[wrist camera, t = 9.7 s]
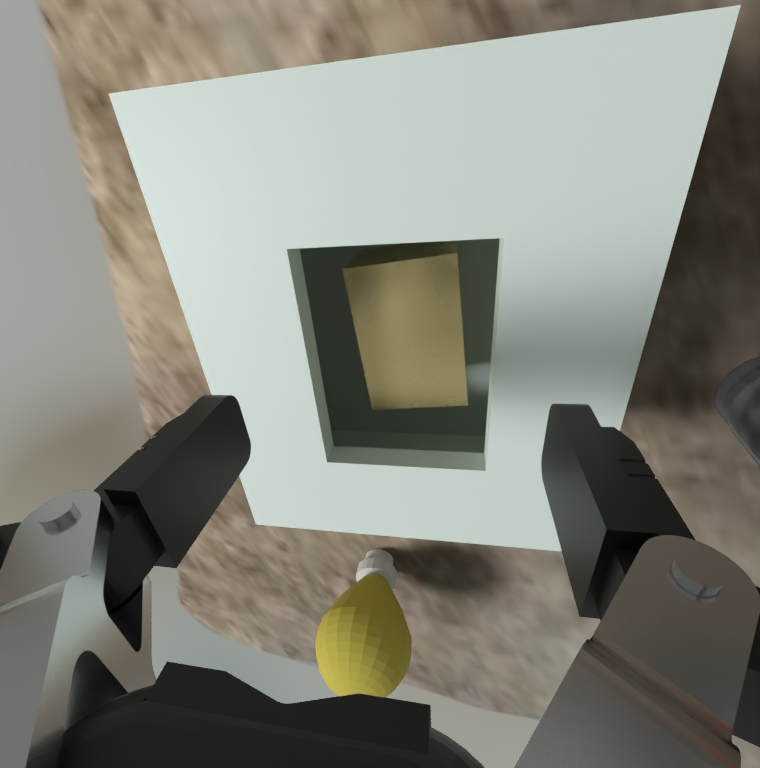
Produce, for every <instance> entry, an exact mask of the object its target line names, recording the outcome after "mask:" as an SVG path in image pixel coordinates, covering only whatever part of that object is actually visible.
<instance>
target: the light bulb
mask: <svg viewBox="0 0 760 768" xmlns="http://www.w3.org/2000/svg"><path fill="white" fill-rule="evenodd" d="M396 576H397V571H396V569H395V567H394V566H393V557H392V555H391V554H390V553H388V552H387V551H384V550H381V549H373V550H370V551H369V552H367V554H366V558H365V560H363V561H361V562H360V563H359V566H358V570H357V574H356V580H357V583H356V584H354V585H353V586H352V587H351V588H349V589H348V590H347V591H346V592H345V593H343V594H342V595H341V596H340V598H339V599H338V600H337V601H336V602H335V603H334V604H333V606H332V607H331V608H330V609H329V610H328V611H327V612H326V614H325V615H324V616H323V618H322V621H321V623H320V626H319V629H318V632H317V637H316V657H317V661H318V666H319V670H320V672H321V675H322V677H323V679H324V680H325V682H326V684H327V685H328V686H329V688H330V689H331V690H332V691H333V692H334V693H335V694H336V695H338V696H345V695H352V694H358V693H360V694H366V695H372V696H378V697H384V698H385V697H386V696H388V695H389V694H391V693H392V692H393V691H394V690H395V688H396V687H397V686H398V685H399V683H400V682H401V680H402V679H403V678H404V676H405V674H406V672H407V669H408V666H409V663H410V658H411V635H410V632H409V629H408V626H407V623H406V620H405V617H404V614H403V611H402V609H401V607H400V605H399V603H398V601H397V599H396V597H395V595H394V593H393V591H392V589H393V588H394V587H395V584H396Z"/></svg>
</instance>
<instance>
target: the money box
mask: <svg viewBox="0 0 760 768" xmlns="http://www.w3.org/2000/svg"><path fill="white" fill-rule="evenodd" d="M740 6H741V5H737V6H730V7H723V8H716V9H709V10H702V11H694V12H687V13H680V14H673V15H666V16H659V17H652V18H645V19H637V20H630V21H623V22H616V23H609V24H602V25H595V26H588V27H580V28H573V29H566V30H559V31H552V32H545V33H538V34H531V35H523V36H516V37H509V38H502V39H495V40H488V41H481V42H474V43H466V44H459V45H452V46H445V47H438V48H431V49H424V50H417V51H409V52H402V53H395V54H388V55H381V56H374V57H367V58H360V59H352V60H345V61H338V62H331V63H324V64H317V65H310V66H303V67H295V68H288V69H281V70H274V71H267V72H260V73H253V74H246V75H238V76H231V77H224V78H217V79H210V80H203V81H196V82H189V83H181V84H174V85H167V86H160V87H153V88H146V89H139V90H132V91H124V92H117V93H110V94H109V96H110V99H111V102H112V105H113V108H114V111H115V114H116V117H117V120H118V122H119V125H120V128H121V131H122V134H123V137H124V140H125V143H126V146H127V149H128V152H129V155H130V158H131V160H132V163H133V166H134V169H135V172H136V175H137V178H138V181H139V184H140V187H141V190H142V193H143V195H144V198H145V201H146V204H147V207H148V210H149V213H150V216H151V219H152V222H153V225H154V228H155V231H156V233H157V236H158V239H159V242H160V245H161V248H162V251H163V254H164V257H165V260H166V263H167V266H168V269H169V271H170V274H171V277H172V280H173V283H174V286H175V289H176V292H177V295H178V298H179V301H180V304H181V306H182V309H183V312H184V315H185V318H186V321H187V324H188V327H189V330H190V333H191V336H192V339H193V342H194V344H195V347H196V350H197V353H198V356H199V359H200V362H201V365H202V368H203V371H204V374H205V377H206V379H207V382H208V385H209V388H210V391H211V394H212V395H232V396H234V397H235V398H236V399H237V400H238V402H239V405H240V409H241V412H242V415H243V418H244V422H245V425H246V428H247V432H248V435H249V438H250V442H251V453H250V458H249V460H248V463H247V464H246V466H245V467H244V469H243V470H242V472H241V473H240V475H239V476H240V479H241V482H242V485H243V488H244V490H245V493H246V496H247V499H248V502H249V505H250V508H251V511H252V514H253V517H254V520H255V523H256V524H257V525H268V526H280V527H291V528H302V529H314V530H325V531H337V532H348V533H359V534H371V535H382V536H393V537H405V538H416V539H427V540H439V541H450V542H461V543H473V544H484V545H496V546H507V547H518V548H530V549H541V550H552V551H562V550H561V546H560V543H559V539H558V535H557V532H556V528H555V524H554V520H553V517H552V513H551V509H550V506H549V502H548V498H547V495H546V491H545V487H544V484H543V479H542V471H541V459H542V451H543V445H544V439H545V433H546V427H547V421H548V415H549V410H550V407H551V405H552V404H587V405H589V406H590V407H591V409H592V411H593V412H594V414H595V416H596V418H597V420H598V422H599V424H600V425H601V427H615V428H616V429H617V430H619V431H620V428H621V425H622V421H623V418H624V414H625V411H626V407H627V404H628V400H629V397H630V393H631V390H632V386H633V383H634V379H635V376H636V372H637V369H638V365H639V362H640V358H641V355H642V351H643V348H644V344H645V340H646V337H647V333H648V330H649V326H650V323H651V319H652V316H653V312H654V309H655V305H656V302H657V298H658V295H659V291H660V288H661V284H662V281H663V277H664V274H665V270H666V267H667V263H668V260H669V256H670V253H671V249H672V246H673V242H674V238H675V235H676V231H677V228H678V224H679V221H680V217H681V214H682V210H683V207H684V203H685V200H686V196H687V193H688V189H689V186H690V182H691V179H692V175H693V172H694V168H695V165H696V161H697V158H698V154H699V151H700V147H701V144H702V140H703V136H704V133H705V129H706V126H707V122H708V119H709V115H710V112H711V108H712V105H713V101H714V98H715V94H716V91H717V87H718V84H719V80H720V77H721V73H722V70H723V66H724V63H725V59H726V56H727V52H728V49H729V45H730V42H731V38H732V34H733V31H734V27H735V24H736V20H737V17H738V13H739V10H740ZM437 241H457V245H458V260H459V274H460V288H461V303H462V317H463V331H464V346H465V360H466V377H467V395H468V405H463V406H444V407H424V408H404V409H384V410H372V406H371V402H370V397H369V392H368V388H367V383H366V378H365V373H364V369H363V364H362V359H361V355H360V350H359V345H358V341H357V336H356V331H355V326H354V322H353V317H352V312H351V308H350V303H349V298H348V294H347V289H346V284H345V279H344V275H343V270H342V269H343V268H344V267H345V266H346V265H347V264H348V263H349V262H350V261H351V260H352V259H353V258H354V257H355V256H356V255H357V254H358V253H359V252H360V251H361V250H362V249H366V248H373V247H380V246H386V245H393V244H400V243H417V242H437Z"/></svg>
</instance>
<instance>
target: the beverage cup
mask: <svg viewBox="0 0 760 768" xmlns="http://www.w3.org/2000/svg"><path fill="white" fill-rule="evenodd" d="M715 406H716V408H717V410H718V412H719V414H720V415H721V416H722V417H723V418H724V419H725V421H726V423H727V424H728V425H729V427H730V429H731V431H732V433H733V434H734V435H735V437H736V438H737V439H738V440H739V442H740V443H741V444H742V445H743V447H744V448H745V449H746V450H747V452H748V453H749V454H750V455H751V457H752V458H753V459H754V460H755V462H756V463H757V464H758V465H759V467H760V357H757V358H755V359H752V360H750V361H747V362H745V363H744V364H742V365H740V366H739V367H737V368H736V369H734V370H733V371H731V372H730V374H729V375H728V376H727V377H726V378H725V379H724V380H723V381H722V382H721V384H720V386H719V388H718V390H717V392H716V396H715Z"/></svg>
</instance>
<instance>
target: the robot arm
mask: <svg viewBox="0 0 760 768" xmlns="http://www.w3.org/2000/svg"><path fill="white" fill-rule="evenodd" d="M250 453H251V442H250V438H249V435H248V432H247V428H246V425H245V422H244V418H243V415H242V412H241V409H240V405H239V402H238V400H237V399H236V398H235V397H234V396H232V395H204V396H202V397H201V398H199V399H198V400H197V401H196V402H195V403H194V404H193V405H192V406H191V407H190V408H189V409H188V410H187V411H186V412H185V413H184V414H182V415H180V416H178V417H177V418H175V419H173V420H171V421H170V422H168V423H166V424H165V425H164V426H163V427H162V428H161V429H160V430H159V431H158V432H157V433H156V434H155V435H153V438H152V439H149V440H148V441H147V442H146V443H145V444H144V445H143V446H142V447H141V450H137V451H136V452H135V453H134V454H133V455H132V456H131V457H130V458H129V459H127V460H126V461H125V462H124V463H123V464H122V465H121V466H120V467H119V468H118V469H117V470H116V471H114V472H113V473H112V474H111V475H110V476H109V477H108V478H107V479H106V480H105V481H104V482H103V483H101V484H100V485H99V487H97V488H96V489H95V490H94V491H91V490H81V491H74V492H70V493H67V494H64V495H61V496H59V497H56V498H54V499H52V500H50V501H48V502H47V503H45V504H43V505H42V506H40V507H38V508H37V509H36V510H34V511H33V512H32V513H30V514H29V515H28V516H27V517H26V518H25V519H24V520H23V521H22V522H20V523H14V524H9V525H3V526H0V768H484V767H483V766H482V764H481V763H479V762H478V761H477V760H476V759H475V758H474V757H473V756H472V755H471V754H470V753H469V752H468V751H467V750H465V749H464V748H463V747H462V746H460V745H459V744H458V743H456V742H455V741H453V740H452V739H451V738H449V737H448V736H446V735H444V734H442V733H441V732H439V731H437V730H435V729H433V728H431V710H430V705H427V704H420V703H415V702H408V701H402V700H396V699H390V698H384V697H378V696H372V695H366V694H360V693H358V694H352V695H345V696H338V697H332V698H325V699H319V700H312V701H305V702H299V703H292V704H284V703H280V702H277V701H275V700H274V699H272V698H270V697H269V696H267V695H265V694H263V693H262V692H260V691H258V690H257V689H255V688H253V687H251V686H250V685H248V684H246V683H245V682H242V681H241V680H240V679H238V678H236V677H234V676H232V675H231V674H229V673H228V672H225V671H220V670H214V669H208V668H202V667H196V666H190V665H184V664H178V663H172V662H167V663H166V665H165V666H164V668H163V670H162V671H161V673H160V675H159V677H158V679H157V680H156V677H155V675H154V671H153V666H152V657H151V595H152V593H151V589H152V588H151V587H152V586H151V581H150V579H149V577H148V575H147V574H148V573H149V572H150V570H151V569H152V568H153V566H162V567H171V568H177V566H178V565H179V563H180V562H181V560H182V559H183V557H184V556H185V554H186V553H187V551H188V550H189V549H190V547H191V546H192V544H193V543H194V541H195V540H196V538H197V537H198V535H199V534H200V532H201V531H202V529H203V528H204V526H205V525H206V523H207V522H208V520H209V519H210V518H211V516H212V515H213V513H214V512H215V510H216V509H217V507H218V506H219V504H220V503H221V501H222V500H223V498H224V497H225V495H226V494H227V492H228V491H229V489H230V488H231V487H232V485H233V484H234V482H235V481H236V479H237V478H238V476H239V475H240V473H241V472H242V470H243V469H244V467H245V466H246V464H247V463H248V460H249V458H250ZM541 471H542V479H543V484H544V487H545V491H546V495H547V498H548V502H549V506H550V509H551V513H552V517H553V520H554V524H555V528H556V532H557V535H558V539H559V543H560V546H561V550H562V554H563V557H564V561H565V565H566V568H567V572H568V576H569V579H570V583H571V587H572V590H573V594H574V598H575V601H576V605H577V609H578V612H579V616H580V617H589V618H598V619H600V620H601V622H600V623H599V625H598V627H597V629H596V631H595V633H594V634H593V636H592V638H591V639H590V640H589V639H587V640H586V642H585V643H584V644H583V646H582V647H581V649H580V651H579V652H578V654H577V656H576V658H575V659H574V661H573V663H572V665H571V667H570V668H569V670H568V672H567V674H566V676H565V677H564V679H563V681H562V683H561V685H560V686H559V688H558V690H557V692H556V694H555V695H554V697H553V699H552V701H551V703H550V704H549V706H548V708H547V710H546V712H545V713H544V715H543V717H542V719H541V721H540V723H539V724H538V726H537V728H536V730H535V731H534V733H533V735H532V737H531V738H530V741H529V742H528V744H527V746H526V747H525V749H524V751H523V753H522V755H521V757H520V758H519V760H518V762H517V764H516V765H515V767H514V768H741V755H740V751H739V749H738V747H737V746H735V745H734V744H732V735H735V736H737V737H739V738H741V739H743V740H745V741H747V742H749V743H752V744H754V745H756V746H758V747H760V588H759V587H757V586H755V585H754V583H753V582H752V580H751V579H750V578H749V576H748V575H747V574H746V573H745V572H744V571H743V570H742V569H741V568H740V567H739V566H738V565H737V564H736V563H735V562H733V561H732V560H731V559H730V558H728V557H727V556H725V555H724V554H722V553H721V552H719V551H718V550H716V549H714V548H712V547H710V546H708V545H706V544H703V543H701V542H699V541H696V540H695V538H694V537H693V535H692V534H691V532H690V530H689V529H688V527H687V526H686V524H685V522H684V521H683V519H682V518H681V516H680V514H679V513H678V511H677V510H676V508H675V507H674V505H673V503H672V502H671V500H670V499H669V497H668V495H667V494H666V492H665V491H664V489H663V487H662V486H661V484H660V483H659V481H658V479H655V475H654V473H653V472H652V470H651V468H650V467H649V465H648V464H646V463H645V459H644V457H643V456H642V454H641V452H640V451H639V449H638V448H637V446H636V445H635V443H634V442H633V441H632V440H630V439H629V438H628V437H627V436H625V435H624V434H623V433H621V432H620V431H619V430H617V429H616V428H615V427H601V425H600V424H599V422H598V420H597V418H596V416H595V414H594V412H593V411H592V409H591V407H590V406H589V405H587V404H552V405H551V407H550V410H549V415H548V421H547V427H546V433H545V439H544V445H543V451H542V459H541Z"/></svg>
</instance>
